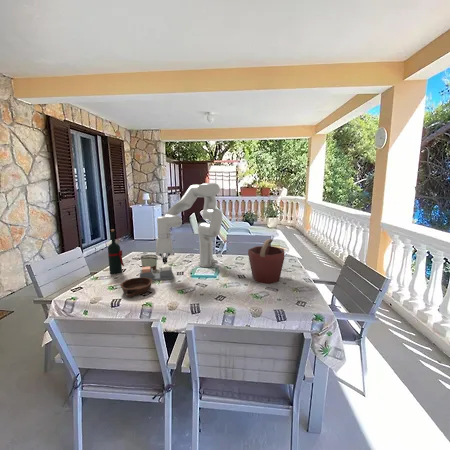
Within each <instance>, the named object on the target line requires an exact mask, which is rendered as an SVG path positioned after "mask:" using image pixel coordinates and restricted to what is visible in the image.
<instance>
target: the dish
mask: <svg viewBox="0 0 450 450" xmlns="http://www.w3.org/2000/svg"><path fill="white" fill-rule="evenodd" d="M139 277H140V276H139ZM139 277H133V278H128V279H126V280H124V281H123V282H121V284H120V285H119V286H120V288H121V289H122V291H123V293H124V294H125V296H126V297H127V298H132V297H135V296H139V295H143V294H145V293H147V292H149V291H150V289H151V287H152V284H153V283H154V282H153V281H154V280H153V281H152V279H150V278H145V277H140V278H139Z"/></svg>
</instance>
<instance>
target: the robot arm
mask: <svg viewBox="0 0 450 450" xmlns="http://www.w3.org/2000/svg"><path fill="white" fill-rule="evenodd" d="M187 188H188V189H187V190H186V191H185V192H184V194H183V195H182V197H181V198H180V200H178V201H177V202H176V203H175V204H173V205H172V206H171V207H170V208H169V209H168V210H167V212H166V213H165V215H163V216H158V217H157V219H156V225H157V237H156V241H155V242H156V244H155V247H156V249H155V250H156V253H155V255H157V257H158V256H159V257H161V258H162V263H163V265H167V263H168V258H169V256H172V255H174V252H173V241H172V240H173V239H172V236H173V233H171V231H170V229H171V228H178V227H180V226H181V225H182V224H183V220H182V219H183V218H182V217H180V216H179V214H181V213H182V212H184V211H187V210H189V209H191V208H192V206H193V204H194V203H195V202H196V200H197V199H198V198H204V203H203V209H202V215H201V216H202V219H203V220H204V222H201V223H200V224H199V225H198V227H197V232H198V239H199V261H198V263H197V265H198V266H199V267H201V268H202V267H203V268H209V267H213V266H215V264H218V263H219V261H218V259H217V260H216V259H215V258H214V256H213V255H214V254H213V250H214V249H213V248H214V247H213V238H217V237H218V236H219V235H220V232H221V228H222V227H221V226H222V221H223V212H222V211H221V210H220V209H218V208H216V206H217V199H216V196H218V194H219V193H220V190H221V186H220V185H219V184H217V183H216V182H215V183H214V182H203V183H202V184H192V185H190V186H189V187H187ZM206 221H208V222H206ZM164 254H165V255H164Z"/></svg>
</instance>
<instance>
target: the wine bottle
mask: <svg viewBox="0 0 450 450" xmlns="http://www.w3.org/2000/svg"><path fill="white" fill-rule="evenodd" d="M110 236H111V238H110V239H111V243H110V244H108V246H107V253H108V254H107V255H108V256H107V257H108V266H109V268H108V269H109V274H110V275H119V274H121V273H122V272H123V267H125V264H124V262H123V257H122V256H123V250H121V246H120V245H119V244H118V243H117V242H116V233H115V229H110Z"/></svg>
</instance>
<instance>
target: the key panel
mask: <svg viewBox="0 0 450 450" xmlns="http://www.w3.org/2000/svg"><path fill="white" fill-rule="evenodd" d="M139 270H140V271H139V277H138V278H140V277H145V278H150V279H152V281H160V280H161V281H163V280H168V279H170V280H171V279H174V273H173V270H172V266H170V270H167V271H162V268H161V267H159V272H157V273H156V272H155V273H154V271H153V268H152V269H151V272H146V273H142V268H141V269H139Z"/></svg>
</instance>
